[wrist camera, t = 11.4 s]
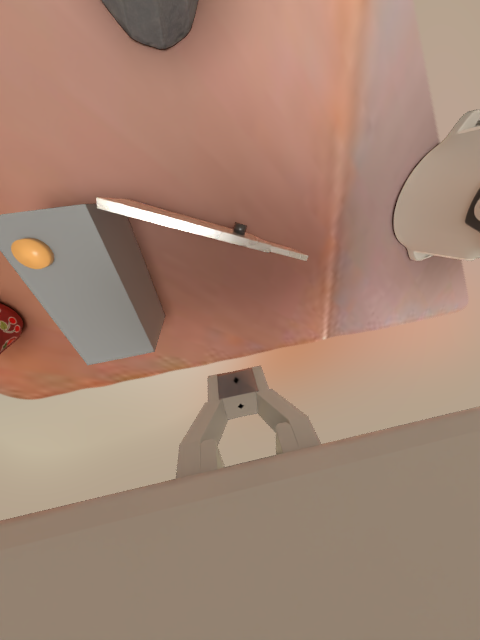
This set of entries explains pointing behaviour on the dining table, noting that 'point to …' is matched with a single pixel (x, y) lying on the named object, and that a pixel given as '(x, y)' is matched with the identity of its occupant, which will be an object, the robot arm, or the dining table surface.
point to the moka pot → (154, 19)
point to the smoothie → (9, 327)
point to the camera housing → (86, 278)
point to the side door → (194, 225)
